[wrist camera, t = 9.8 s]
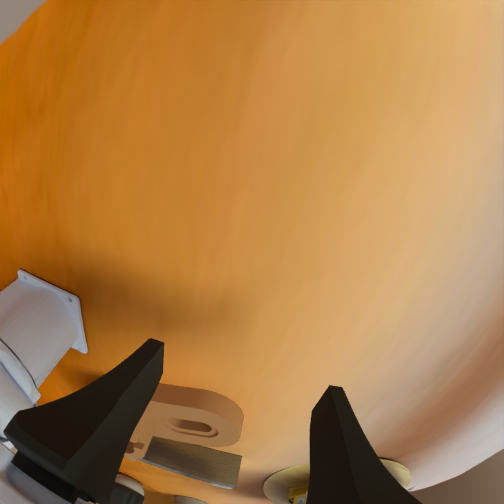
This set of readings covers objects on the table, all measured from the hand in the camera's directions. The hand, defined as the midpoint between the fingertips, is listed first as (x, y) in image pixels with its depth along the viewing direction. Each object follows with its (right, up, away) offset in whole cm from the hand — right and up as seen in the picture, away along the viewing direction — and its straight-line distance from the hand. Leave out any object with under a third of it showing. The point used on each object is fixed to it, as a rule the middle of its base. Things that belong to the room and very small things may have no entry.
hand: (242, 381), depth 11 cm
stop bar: (-10, -22, +22) cm, 33 cm away
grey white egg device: (-29, -49, +38) cm, 69 cm away
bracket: (-9, -12, +18) cm, 24 cm away
